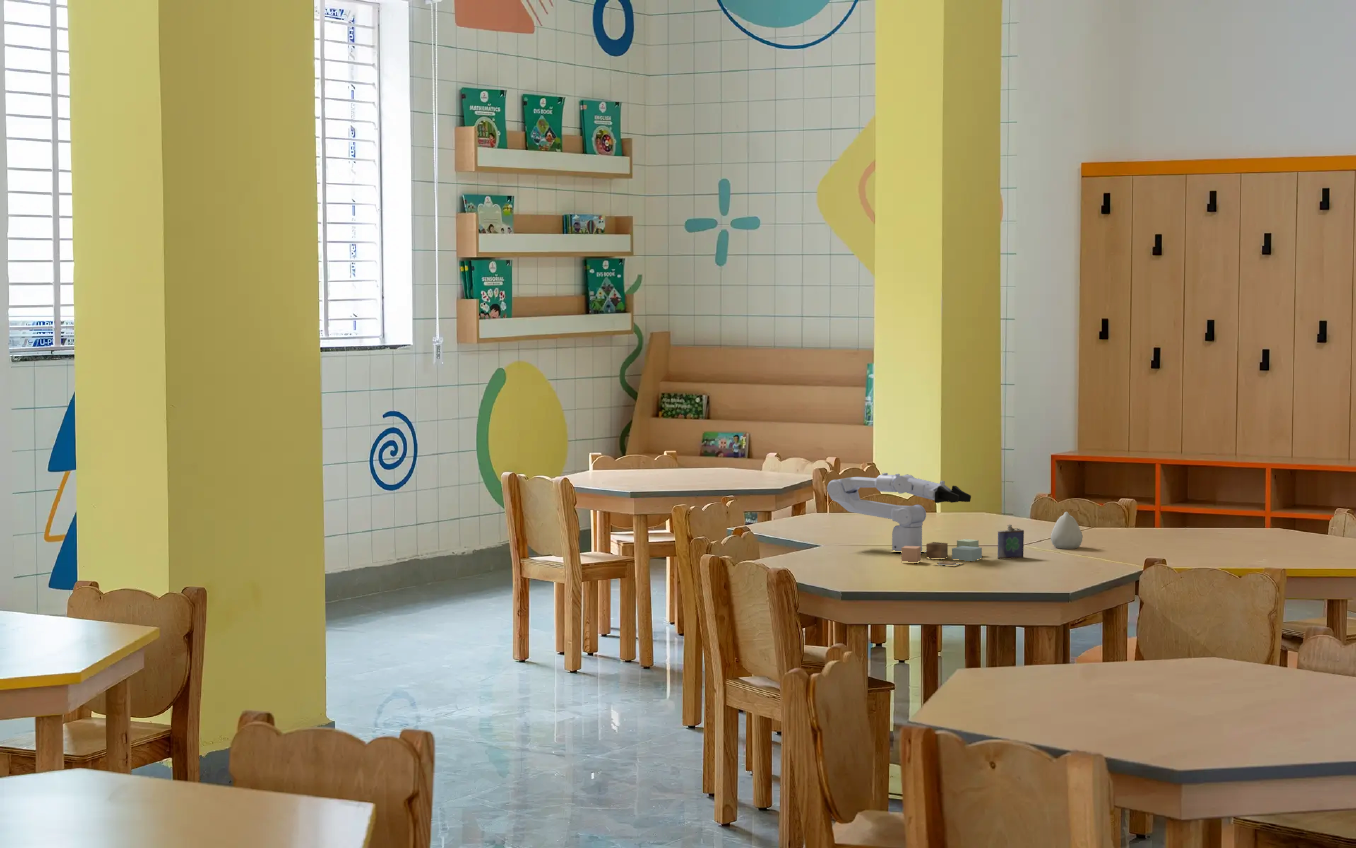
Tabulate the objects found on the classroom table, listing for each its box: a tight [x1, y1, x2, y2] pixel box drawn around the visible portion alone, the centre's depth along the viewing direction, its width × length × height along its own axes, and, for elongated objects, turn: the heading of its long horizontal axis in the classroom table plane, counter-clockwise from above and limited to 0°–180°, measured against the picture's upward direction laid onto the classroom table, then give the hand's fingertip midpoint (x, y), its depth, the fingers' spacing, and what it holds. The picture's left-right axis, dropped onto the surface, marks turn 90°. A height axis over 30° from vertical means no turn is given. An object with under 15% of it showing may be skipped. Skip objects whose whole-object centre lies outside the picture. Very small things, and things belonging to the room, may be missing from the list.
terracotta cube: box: [901, 546, 922, 562], centre depth 459 cm, size 5×5×5 cm
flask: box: [997, 524, 1025, 560], centre depth 466 cm, size 9×3×11 cm, turn 109°
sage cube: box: [956, 538, 980, 547], centre depth 473 cm, size 5×5×5 cm
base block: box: [951, 546, 983, 562], centre depth 464 cm, size 7×7×4 cm
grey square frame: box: [938, 560, 960, 566], centre depth 453 cm, size 7×7×1 cm
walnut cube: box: [925, 541, 949, 558], centre depth 467 cm, size 5×5×5 cm
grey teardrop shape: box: [1050, 511, 1084, 550], centre depth 488 cm, size 10×10×12 cm
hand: (964, 498), depth 466 cm, fingers open, 7 cm apart
